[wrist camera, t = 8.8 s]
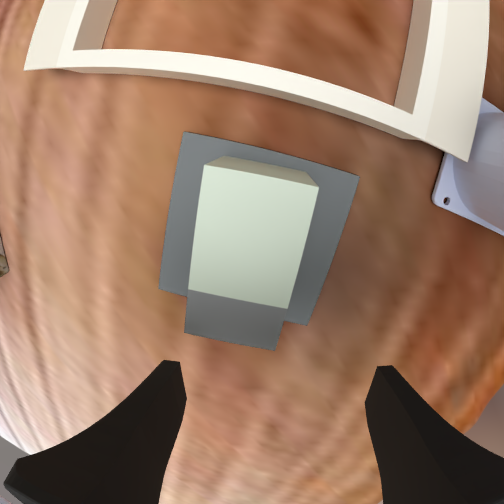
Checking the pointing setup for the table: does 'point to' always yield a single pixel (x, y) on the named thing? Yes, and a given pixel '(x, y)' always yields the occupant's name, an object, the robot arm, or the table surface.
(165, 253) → the grey mat
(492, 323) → the table surface
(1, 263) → the coffee box
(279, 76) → the white tray frame
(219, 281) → the sage box
